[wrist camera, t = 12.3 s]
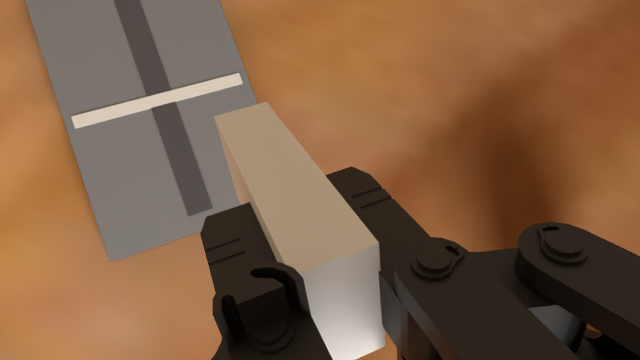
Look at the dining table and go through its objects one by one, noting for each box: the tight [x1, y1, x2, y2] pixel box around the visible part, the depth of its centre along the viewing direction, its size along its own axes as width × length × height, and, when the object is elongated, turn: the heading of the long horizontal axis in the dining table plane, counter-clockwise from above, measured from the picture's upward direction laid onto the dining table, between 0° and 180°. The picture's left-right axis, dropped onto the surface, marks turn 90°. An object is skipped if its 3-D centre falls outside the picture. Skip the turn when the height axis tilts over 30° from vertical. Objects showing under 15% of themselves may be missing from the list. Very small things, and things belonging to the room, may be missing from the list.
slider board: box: [25, 0, 258, 261], centre depth 30 cm, size 32×12×2 cm, turn 21°
